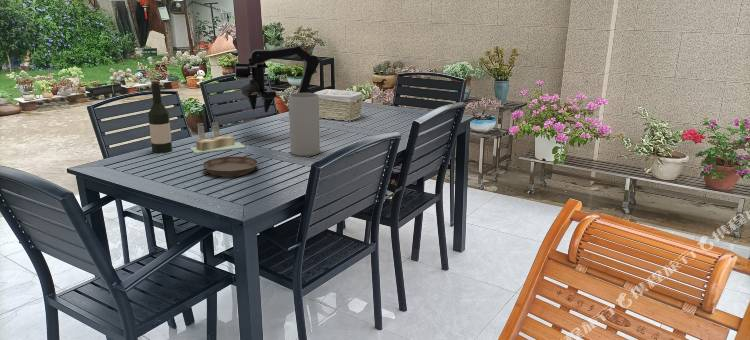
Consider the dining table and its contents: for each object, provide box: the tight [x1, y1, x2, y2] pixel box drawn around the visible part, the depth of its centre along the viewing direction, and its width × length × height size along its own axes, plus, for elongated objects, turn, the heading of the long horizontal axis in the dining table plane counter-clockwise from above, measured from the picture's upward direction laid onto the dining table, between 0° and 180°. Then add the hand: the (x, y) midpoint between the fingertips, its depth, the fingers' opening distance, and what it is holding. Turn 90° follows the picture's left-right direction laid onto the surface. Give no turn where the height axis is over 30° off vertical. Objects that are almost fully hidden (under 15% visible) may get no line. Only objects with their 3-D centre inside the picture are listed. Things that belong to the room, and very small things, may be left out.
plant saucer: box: [202, 155, 259, 178], centre depth 215 cm, size 21×21×3 cm
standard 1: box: [196, 123, 206, 141], centre depth 255 cm, size 2×8×8 cm, turn 20°
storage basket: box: [314, 88, 364, 120], centre depth 310 cm, size 24×16×15 cm
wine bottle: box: [147, 80, 173, 154], centre depth 236 cm, size 8×8×30 cm
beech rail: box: [195, 134, 235, 151], centre depth 246 cm, size 16×4×5 cm
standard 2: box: [211, 121, 221, 138], centre depth 257 cm, size 2×8×8 cm, turn 20°
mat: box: [189, 141, 247, 155], centre depth 246 cm, size 22×10×1 cm, turn 120°
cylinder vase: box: [288, 92, 321, 157], centre depth 237 cm, size 12×12×25 cm
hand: (259, 111), depth 262 cm, fingers open, 9 cm apart
